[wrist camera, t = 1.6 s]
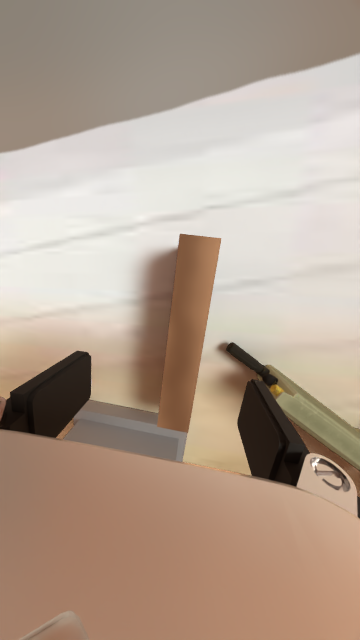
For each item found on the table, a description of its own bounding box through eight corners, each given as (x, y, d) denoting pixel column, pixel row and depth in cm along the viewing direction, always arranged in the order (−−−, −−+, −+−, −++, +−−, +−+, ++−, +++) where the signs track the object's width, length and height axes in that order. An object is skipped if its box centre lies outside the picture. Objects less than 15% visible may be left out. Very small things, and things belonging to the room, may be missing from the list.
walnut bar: (215, 249, 20) (221, 238, 15) (190, 399, 25) (187, 433, 19) (184, 245, 20) (179, 233, 15) (165, 395, 25) (156, 426, 20)
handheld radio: (362, 460, 24) (218, 352, 23) (382, 444, 23) (234, 333, 22) (425, 525, 17) (227, 379, 16) (455, 507, 17) (252, 353, 15)
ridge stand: (188, 419, 25) (183, 482, 17) (179, 472, 27) (171, 548, 20) (82, 398, 26) (33, 448, 18) (82, 451, 29) (39, 515, 21)
